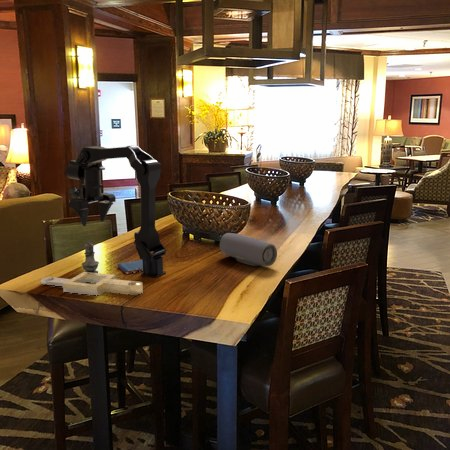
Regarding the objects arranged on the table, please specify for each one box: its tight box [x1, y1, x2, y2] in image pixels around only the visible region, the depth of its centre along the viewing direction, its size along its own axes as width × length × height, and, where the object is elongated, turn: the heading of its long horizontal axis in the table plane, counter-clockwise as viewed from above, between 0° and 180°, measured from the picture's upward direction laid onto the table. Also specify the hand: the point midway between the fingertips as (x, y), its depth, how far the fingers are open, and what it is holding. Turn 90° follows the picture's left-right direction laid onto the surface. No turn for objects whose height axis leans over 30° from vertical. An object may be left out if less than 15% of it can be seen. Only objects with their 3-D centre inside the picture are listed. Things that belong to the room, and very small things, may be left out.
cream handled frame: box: [40, 276, 105, 297], centre depth 159 cm, size 24×12×2 cm, turn 74°
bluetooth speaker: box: [219, 232, 278, 267], centre depth 183 cm, size 23×9×10 cm, turn 41°
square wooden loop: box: [62, 271, 144, 296], centre depth 156 cm, size 24×12×3 cm, turn 74°
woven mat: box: [116, 259, 143, 275], centre depth 178 cm, size 10×11×2 cm
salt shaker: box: [81, 239, 100, 273], centre depth 171 cm, size 6×6×12 cm
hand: (93, 223), depth 180 cm, fingers open, 9 cm apart
